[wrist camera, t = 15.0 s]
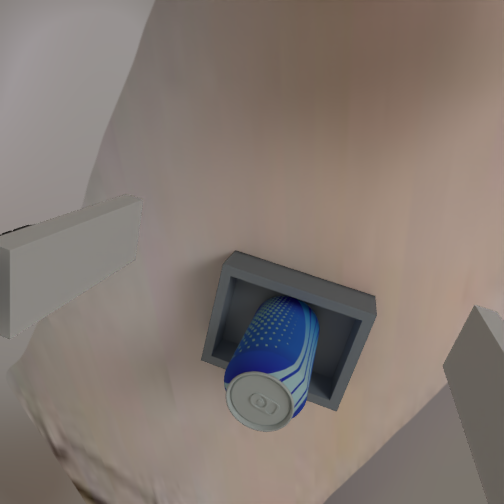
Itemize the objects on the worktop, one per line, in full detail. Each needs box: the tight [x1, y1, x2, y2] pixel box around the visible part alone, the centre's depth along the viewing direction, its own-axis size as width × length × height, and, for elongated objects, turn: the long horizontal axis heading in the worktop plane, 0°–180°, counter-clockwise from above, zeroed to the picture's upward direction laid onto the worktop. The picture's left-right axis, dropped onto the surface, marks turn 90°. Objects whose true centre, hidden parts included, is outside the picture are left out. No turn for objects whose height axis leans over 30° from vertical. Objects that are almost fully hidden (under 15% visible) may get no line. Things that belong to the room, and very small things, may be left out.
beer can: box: [224, 296, 319, 432], centre depth 44 cm, size 8×8×16 cm
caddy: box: [201, 251, 377, 411], centre depth 49 cm, size 14×18×5 cm
